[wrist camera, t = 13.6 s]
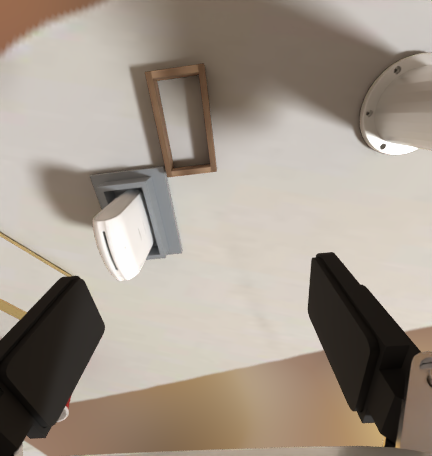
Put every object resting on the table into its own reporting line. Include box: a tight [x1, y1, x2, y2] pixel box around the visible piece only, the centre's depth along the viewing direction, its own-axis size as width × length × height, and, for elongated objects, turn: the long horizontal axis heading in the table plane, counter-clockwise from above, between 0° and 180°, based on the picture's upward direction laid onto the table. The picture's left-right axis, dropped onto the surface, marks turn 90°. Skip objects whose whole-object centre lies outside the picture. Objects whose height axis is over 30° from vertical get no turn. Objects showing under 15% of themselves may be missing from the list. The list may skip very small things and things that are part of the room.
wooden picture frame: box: [145, 63, 217, 177], centre depth 33 cm, size 8×14×2 cm, turn 7°
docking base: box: [90, 166, 182, 260], centre depth 39 cm, size 12×16×4 cm
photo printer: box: [93, 189, 155, 281], centre depth 35 cm, size 10×4×12 cm, turn 6°
